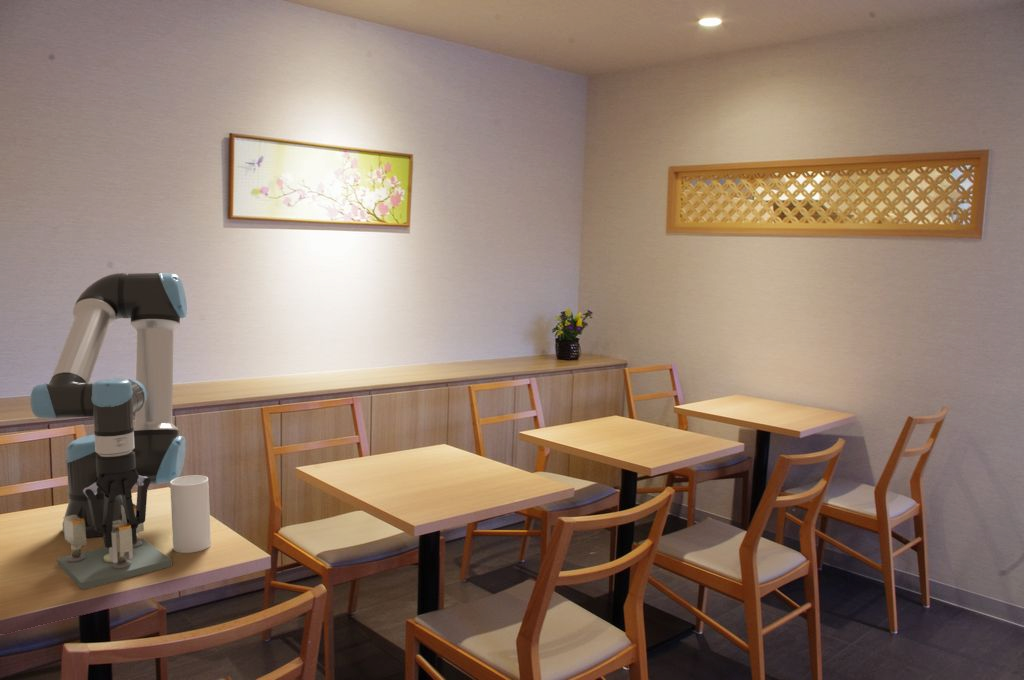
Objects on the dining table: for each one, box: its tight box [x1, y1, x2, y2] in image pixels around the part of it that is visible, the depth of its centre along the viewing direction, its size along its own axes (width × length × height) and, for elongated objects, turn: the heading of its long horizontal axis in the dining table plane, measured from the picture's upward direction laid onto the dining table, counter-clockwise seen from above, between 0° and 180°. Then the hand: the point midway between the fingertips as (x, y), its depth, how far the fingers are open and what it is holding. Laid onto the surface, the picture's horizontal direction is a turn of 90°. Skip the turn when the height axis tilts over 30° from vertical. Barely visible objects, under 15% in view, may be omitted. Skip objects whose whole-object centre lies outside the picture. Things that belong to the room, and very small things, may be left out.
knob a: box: [63, 515, 87, 557], centre depth 174 cm, size 7×2×9 cm, turn 44°
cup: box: [169, 474, 212, 554], centre depth 186 cm, size 8×8×16 cm
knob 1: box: [112, 520, 132, 564], centre depth 171 cm, size 7×2×9 cm, turn 44°
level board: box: [56, 537, 173, 591], centre depth 175 cm, size 18×18×2 cm
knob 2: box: [121, 503, 145, 543], centre depth 182 cm, size 7×2×9 cm, turn 44°
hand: (121, 558), depth 171 cm, fingers closed on knob 1, 2 cm apart
